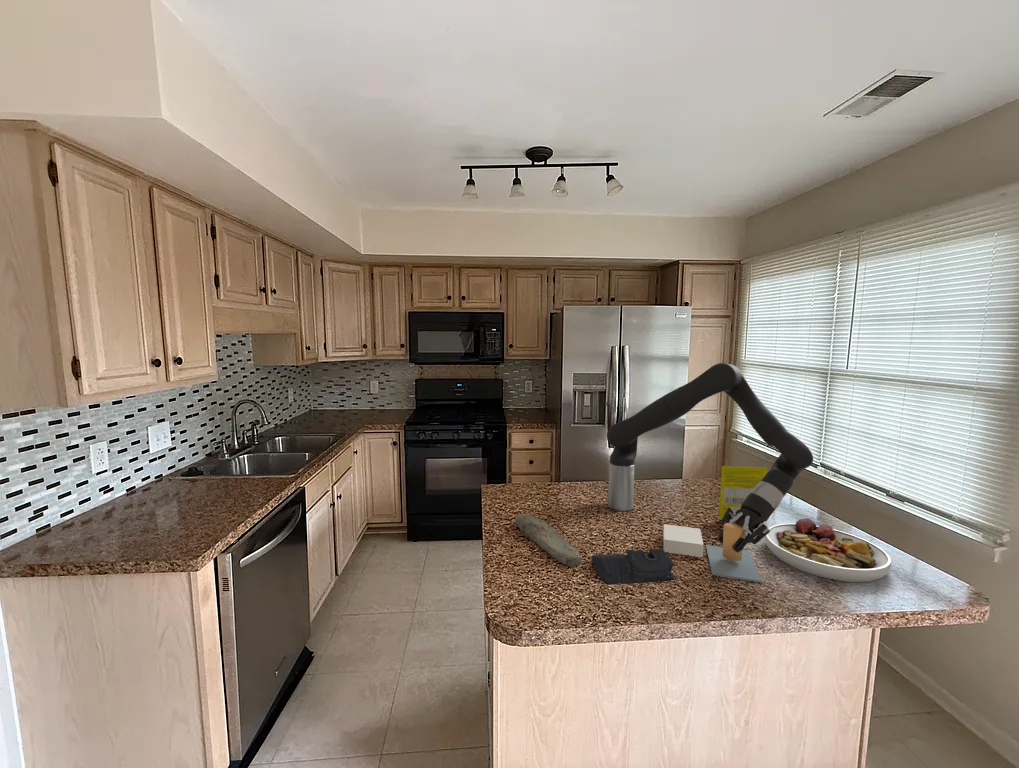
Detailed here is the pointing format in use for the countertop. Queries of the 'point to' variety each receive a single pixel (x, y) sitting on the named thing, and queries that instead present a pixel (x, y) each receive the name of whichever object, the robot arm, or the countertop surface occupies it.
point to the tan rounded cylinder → (731, 541)
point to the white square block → (683, 540)
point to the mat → (732, 565)
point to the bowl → (827, 552)
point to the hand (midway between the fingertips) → (727, 545)
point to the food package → (737, 485)
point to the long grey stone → (548, 539)
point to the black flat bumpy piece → (634, 567)
